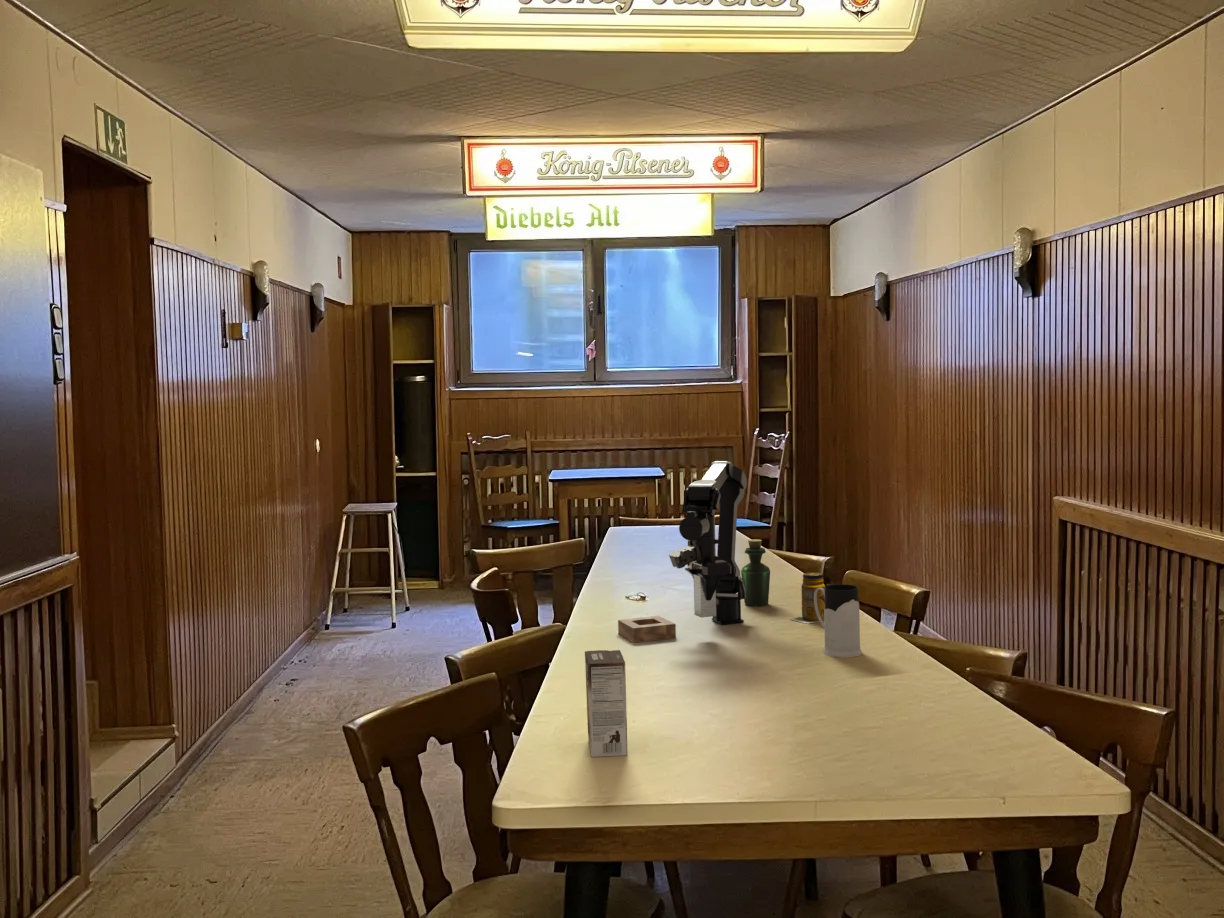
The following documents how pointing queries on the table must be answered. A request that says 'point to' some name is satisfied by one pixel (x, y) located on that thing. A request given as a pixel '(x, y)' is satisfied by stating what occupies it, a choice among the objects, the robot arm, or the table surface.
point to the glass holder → (840, 620)
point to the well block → (646, 629)
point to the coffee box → (606, 703)
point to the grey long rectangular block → (703, 599)
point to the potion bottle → (756, 576)
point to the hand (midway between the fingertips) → (704, 598)
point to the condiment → (811, 598)
